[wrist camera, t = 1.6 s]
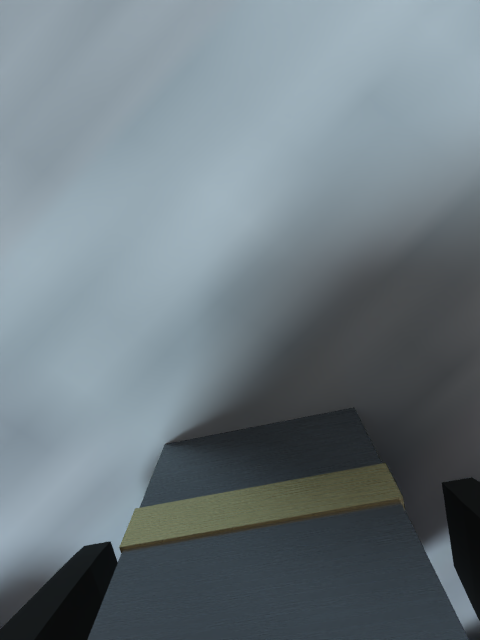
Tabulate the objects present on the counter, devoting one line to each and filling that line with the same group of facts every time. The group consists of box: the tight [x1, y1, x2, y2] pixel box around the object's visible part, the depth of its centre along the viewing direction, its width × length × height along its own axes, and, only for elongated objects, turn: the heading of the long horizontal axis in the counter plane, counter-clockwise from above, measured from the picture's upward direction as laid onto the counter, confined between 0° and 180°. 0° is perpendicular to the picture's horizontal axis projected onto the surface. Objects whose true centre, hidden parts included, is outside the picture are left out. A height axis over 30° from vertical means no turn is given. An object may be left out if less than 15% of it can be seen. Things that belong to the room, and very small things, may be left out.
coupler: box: [87, 408, 469, 640], centre depth 8 cm, size 5×5×6 cm
